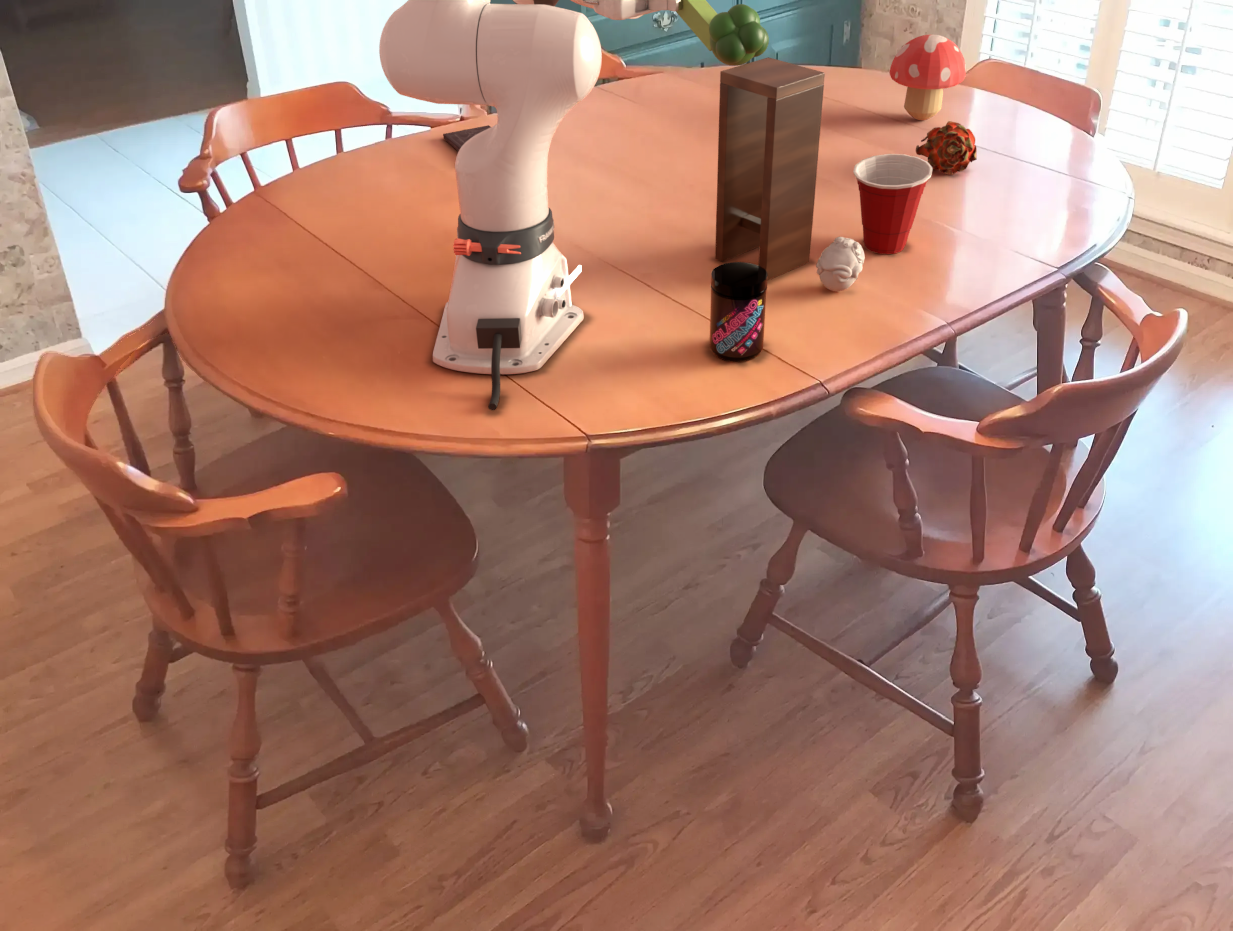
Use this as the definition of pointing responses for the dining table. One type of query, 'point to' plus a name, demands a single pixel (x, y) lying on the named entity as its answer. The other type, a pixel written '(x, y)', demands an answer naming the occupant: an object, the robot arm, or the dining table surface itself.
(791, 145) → the wooden stand
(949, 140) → the dragon fruit
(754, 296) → the supplement container
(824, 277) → the white rounded carved piece
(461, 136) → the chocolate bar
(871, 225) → the plastic cup
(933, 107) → the decorative mushroom
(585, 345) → the dining table surface
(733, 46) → the broccoli
